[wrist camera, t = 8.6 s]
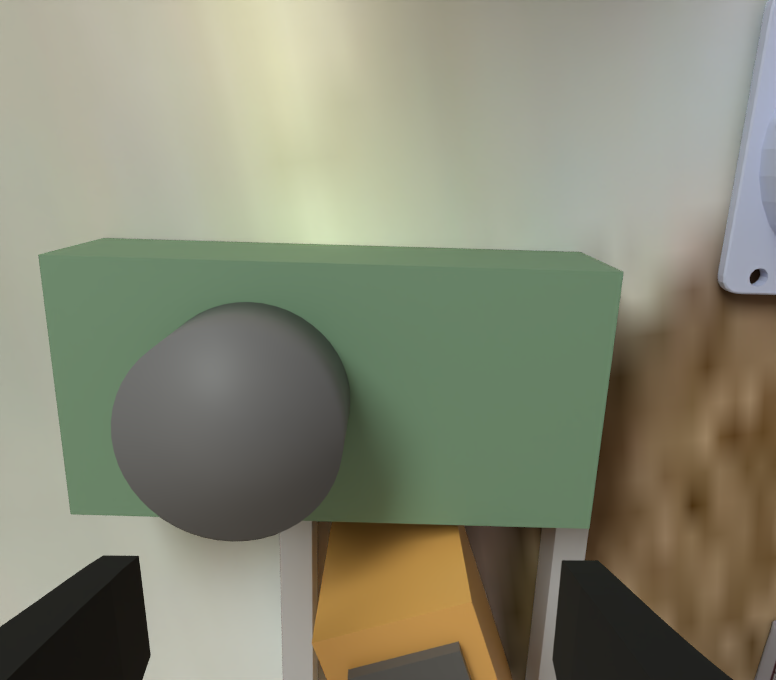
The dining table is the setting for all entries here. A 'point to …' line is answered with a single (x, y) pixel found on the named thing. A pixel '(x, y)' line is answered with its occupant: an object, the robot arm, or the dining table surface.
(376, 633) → the orange box with panel
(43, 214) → the dining table surface
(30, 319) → the dining table surface
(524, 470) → the green block with prongs
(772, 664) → the supplement box
